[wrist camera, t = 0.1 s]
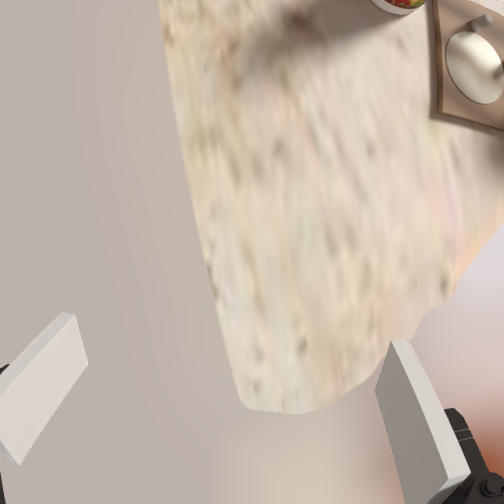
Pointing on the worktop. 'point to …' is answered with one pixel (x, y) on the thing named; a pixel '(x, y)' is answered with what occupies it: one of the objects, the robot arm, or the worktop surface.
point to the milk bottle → (399, 5)
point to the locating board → (470, 61)
